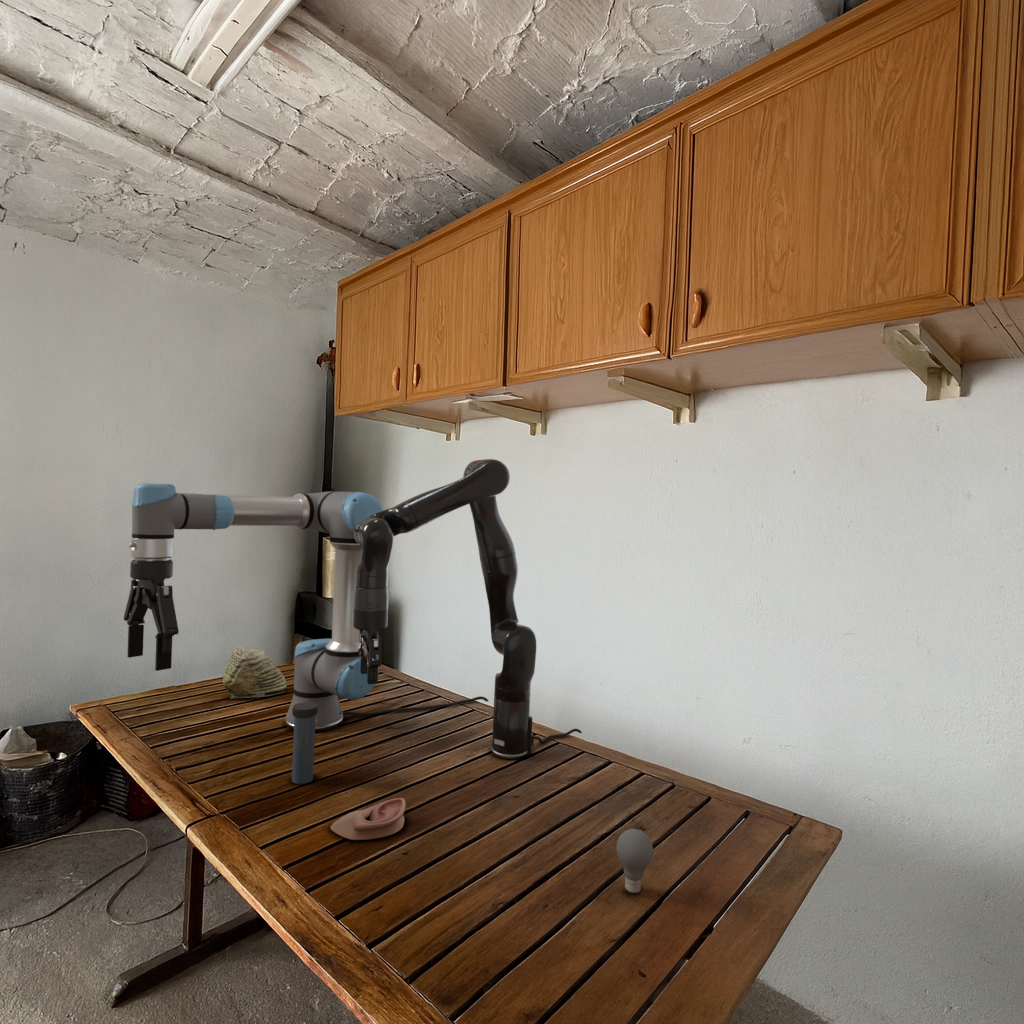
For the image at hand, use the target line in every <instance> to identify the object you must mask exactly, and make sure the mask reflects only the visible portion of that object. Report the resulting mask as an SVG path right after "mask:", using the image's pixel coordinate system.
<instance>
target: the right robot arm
mask: <svg viewBox="0 0 1024 1024" xmlns="http://www.w3.org/2000/svg"><path fill="white" fill-rule="evenodd" d="M462 475H463V476H462V478H460V479H458V480H455V481H453V482H451V483H448V484H445V485H443V486H439V487H437V488H434V489H431V490H427V491H425V492H422V493H420V494H419V493H418V494H417V495H415V496H413V497H410V498H408V499H406V500H404V501H401V502H400V503H398V504H396V505H395V506H392V507H389V508H386V509H383V511H380V512H378V513H375V514H372V515H370V516H367V517H365V518H363V519H362V520H360V521H359V522H358V523H357V525H356V526H355V529H354V538H355V540H356V541H357V543H358V544H360V545H361V546H363V548H362V558H361V561H360V562H359V563H358V564H357V569H356V588H355V595H354V617H353V626H354V628H356V629H358V630H359V649H358V651H359V652H360V653H359V655H360V657H361V665H360V672H361V674H367V683H368V684H375V685H377V684H378V682H379V674H378V668H379V667H381V666H382V665H383V663H382V653H383V652H382V651H383V650H382V646H383V644H382V643H383V639H382V637H381V636H379V631H381V630H385V629H386V628H388V624H389V622H388V620H389V586H388V584H389V564H390V561H391V557H392V553H393V552H392V551H393V547H394V537H396V536H398V535H401V534H408V533H412V532H414V531H416V530H418V529H420V528H422V527H423V526H426V525H428V524H430V523H432V522H434V521H435V520H438V519H440V518H442V517H444V516H445V515H448V514H449V513H452V512H454V511H456V510H458V509H460V508H462V507H465V506H467V505H469V507H470V508H469V509H470V512H471V515H472V520H473V525H474V531H475V539H476V542H477V548H478V555H479V562H480V566H481V572H482V573H481V574H482V577H483V582H484V587H485V593H486V598H487V603H488V610H489V624H490V638H491V644H492V646H493V648H494V650H496V652H497V653H498V654H499V655H501V656H503V658H502V659H503V660H502V668H501V670H499V671H497V672H496V673H495V674H494V675H495V676H494V691H493V692H494V694H493V713H492V714H493V715H492V739H491V753H492V755H493V756H495V757H497V758H499V759H506V760H518V759H522V758H525V757H527V756H528V755H531V754H532V747H534V744H535V743H534V741H535V740H536V741H538V742H539V743H540V744H543V743H546V742H547V741H549V740H550V739H554V738H555V739H557V738H563V737H566V736H569V735H570V734H573V733H575V732H577V733H579V734H582V733H583V732H582V730H581V729H579V728H573V729H570V730H569V731H566V732H565V733H559V734H551V735H548V736H545V738H543V739H542V738H541V737H540V736H536V735H534V734H533V716H531V714H530V710H531V688H532V680H533V678H534V675H535V671H536V661H537V647H538V646H537V645H538V644H537V642H538V641H537V637H536V633H535V631H534V630H533V629H532V627H530V626H527V625H526V624H523V623H521V622H520V620H519V617H518V613H517V608H516V601H515V600H516V599H515V595H516V594H515V593H516V589H517V584H518V578H519V563H518V558H517V557H518V556H517V551H516V547H515V543H514V541H513V540H514V539H513V538H512V535H511V534H510V532H509V530H508V528H507V527H506V525H505V523H504V521H503V519H502V516H501V514H500V511H499V506H498V499H497V496H499V495H501V494H502V493H504V492H505V491H506V489H508V486H509V484H510V481H511V473H510V470H509V468H508V467H507V465H506V464H505V463H504V462H503V461H500V460H499V459H498V460H497V459H495V458H487V459H485V458H484V459H476V460H473V461H471V462H469V463H468V464H467V466H465V468H464V471H463V474H462ZM372 658H373V659H375V661H372Z"/></svg>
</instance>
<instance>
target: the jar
mask: <svg viewBox="0 0 1024 1024" xmlns="http://www.w3.org/2000/svg"><path fill="white" fill-rule="evenodd" d="M315 721H316V715H315V716H312V717H307V718H299V717H295V716H294V730H293V736H292V737H293V738H292V759H291V760H292V762H291V763H292V764H291V782H292V783H293V784H296V785H305V784H308V783H311V782H312V781H313V780H314V767H315V745H316V744H315V743H316V732H315Z"/></svg>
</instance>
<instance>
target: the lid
mask: <svg viewBox="0 0 1024 1024" xmlns="http://www.w3.org/2000/svg"><path fill="white" fill-rule="evenodd" d="M317 713H318V705H317V704H316V703H312V702H303V703H298V704H295V705H294V706H293V710H292V714H293V716H295V717H299V718H307V717H312V716H315V715H316V714H317Z"/></svg>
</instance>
